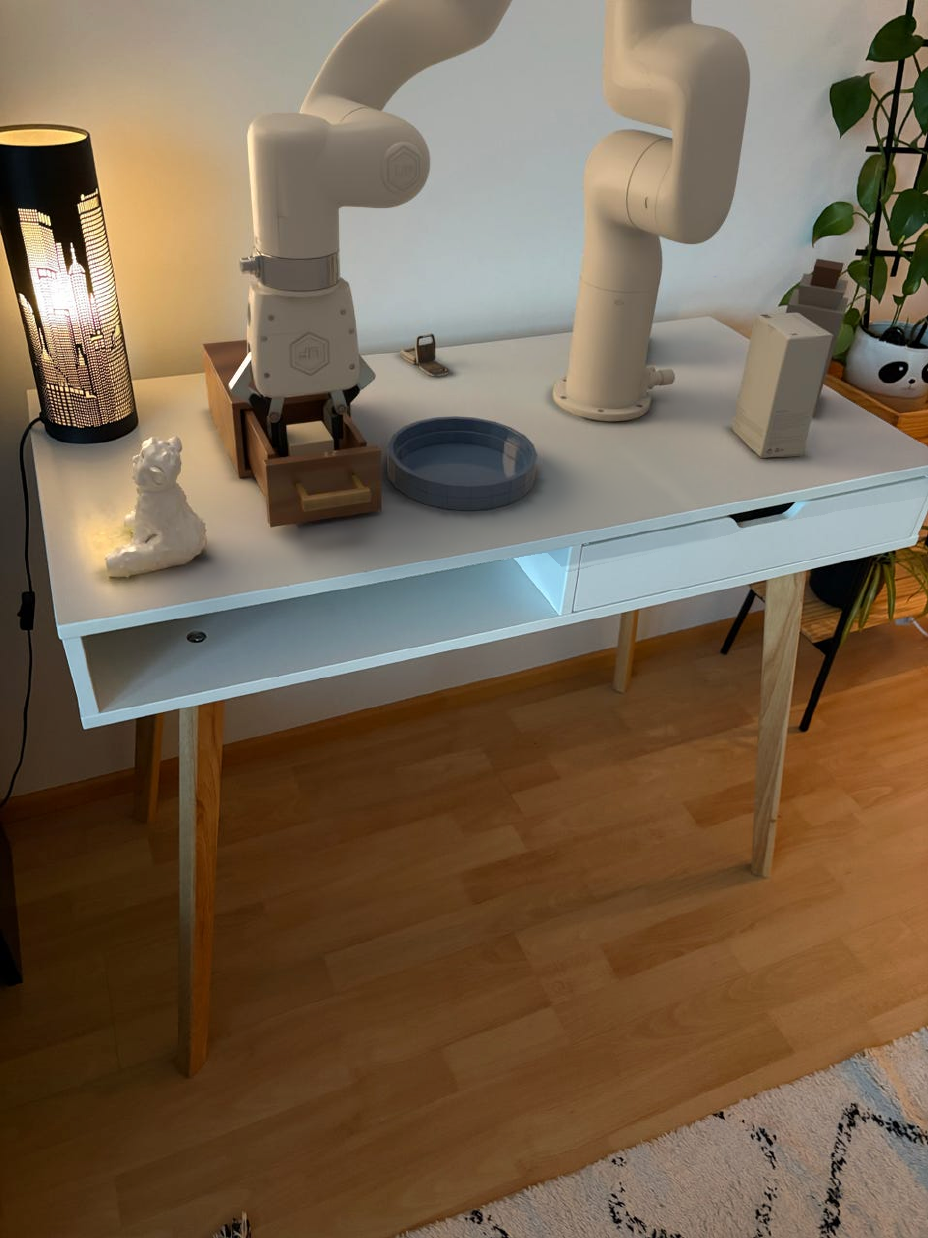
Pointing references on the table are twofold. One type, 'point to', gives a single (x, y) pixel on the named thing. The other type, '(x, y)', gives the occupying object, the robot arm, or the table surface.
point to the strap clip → (424, 357)
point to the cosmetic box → (780, 384)
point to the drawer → (312, 470)
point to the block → (308, 439)
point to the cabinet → (234, 398)
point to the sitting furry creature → (158, 515)
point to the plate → (461, 463)
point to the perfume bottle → (822, 302)
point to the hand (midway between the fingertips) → (306, 447)
